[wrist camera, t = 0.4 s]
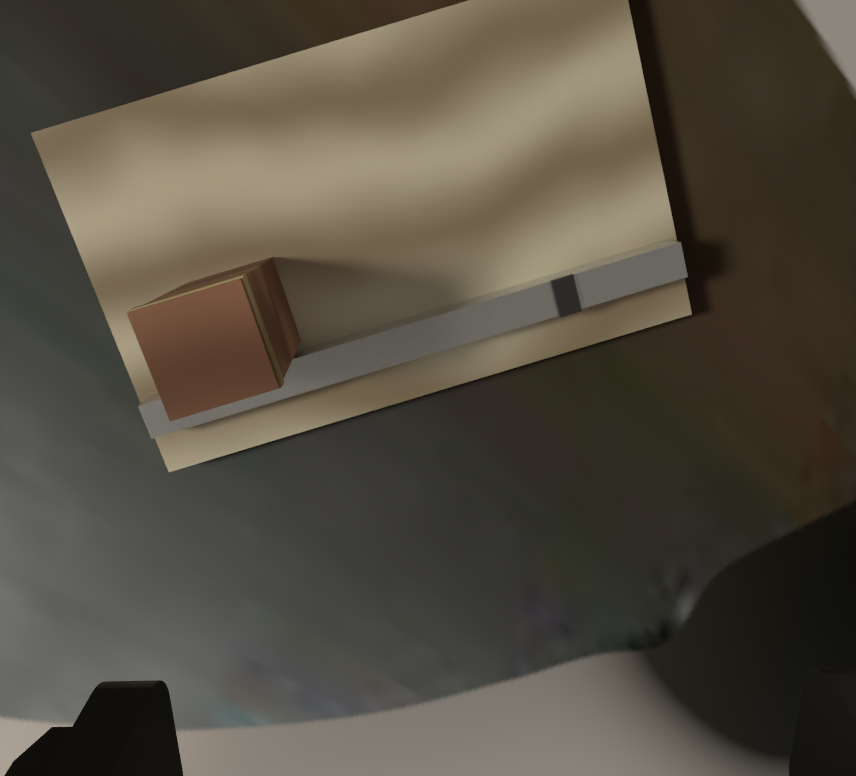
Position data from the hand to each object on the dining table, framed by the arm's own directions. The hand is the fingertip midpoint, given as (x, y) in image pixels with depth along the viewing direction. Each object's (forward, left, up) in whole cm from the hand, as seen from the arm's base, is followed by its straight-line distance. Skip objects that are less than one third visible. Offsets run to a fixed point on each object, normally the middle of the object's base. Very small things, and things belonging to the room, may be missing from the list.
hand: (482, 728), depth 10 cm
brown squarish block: (-3, -6, -27) cm, 28 cm away
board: (-5, +1, -29) cm, 29 cm away
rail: (0, +1, -27) cm, 27 cm away
